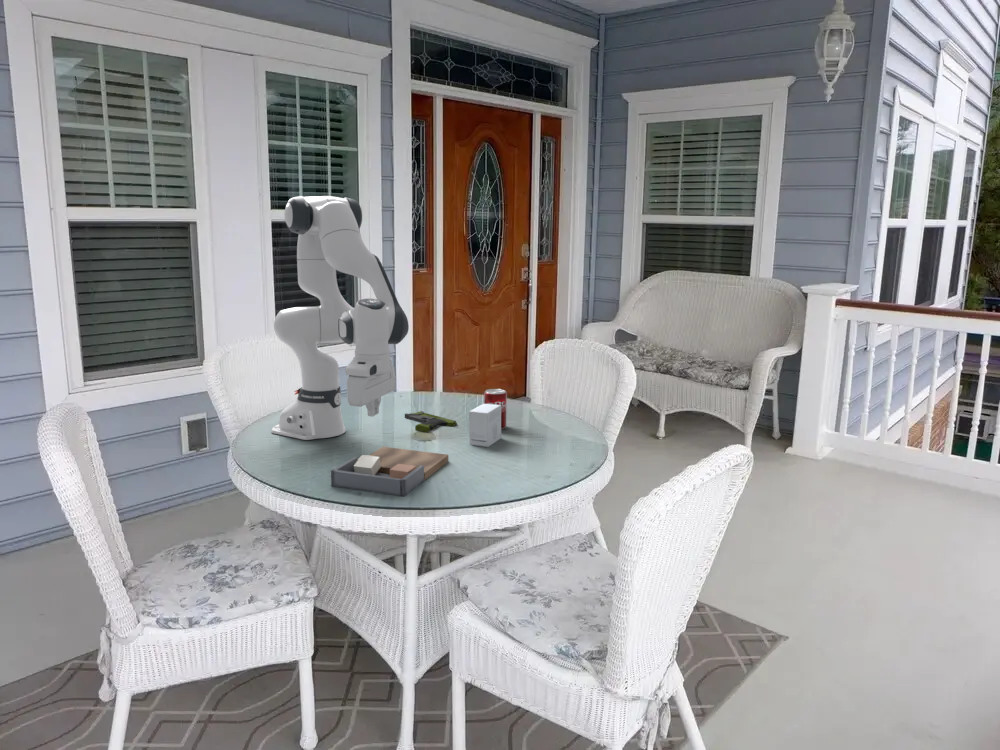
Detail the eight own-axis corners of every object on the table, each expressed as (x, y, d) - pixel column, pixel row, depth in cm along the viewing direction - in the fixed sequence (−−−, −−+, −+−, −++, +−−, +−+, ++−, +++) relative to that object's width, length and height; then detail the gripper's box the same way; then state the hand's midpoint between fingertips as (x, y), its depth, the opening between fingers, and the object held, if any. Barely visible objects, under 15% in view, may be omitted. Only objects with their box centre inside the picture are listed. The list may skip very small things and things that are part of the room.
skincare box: (482, 435, 240) (482, 402, 238) (501, 438, 238) (502, 405, 236) (468, 444, 231) (468, 410, 229) (488, 447, 228) (488, 412, 226)
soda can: (509, 429, 247) (510, 393, 244) (488, 431, 244) (488, 394, 242) (501, 423, 253) (501, 388, 251) (480, 425, 251) (480, 389, 248)
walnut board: (355, 470, 206) (355, 463, 206) (383, 453, 221) (383, 446, 220) (424, 480, 200) (424, 472, 199) (448, 461, 215) (448, 454, 214)
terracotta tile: (389, 480, 197) (389, 469, 197) (398, 474, 202) (398, 463, 201) (407, 483, 196) (407, 472, 195) (416, 477, 200) (415, 466, 200)
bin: (331, 486, 194) (330, 470, 194) (354, 471, 206) (354, 456, 205) (403, 496, 188) (403, 480, 187) (424, 480, 199) (424, 465, 199)
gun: (386, 423, 254) (420, 416, 265) (425, 434, 241) (460, 426, 252) (386, 416, 253) (420, 409, 264) (425, 426, 241) (460, 419, 252)
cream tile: (355, 475, 201) (353, 465, 199) (364, 463, 205) (362, 454, 204) (372, 477, 199) (371, 468, 198) (381, 466, 204) (379, 456, 202)
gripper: (380, 354, 210) (380, 404, 213) (341, 369, 191) (343, 423, 194) (401, 356, 208) (401, 406, 211) (364, 371, 189) (365, 426, 192)
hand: (373, 415), depth 202 cm, fingers closed
